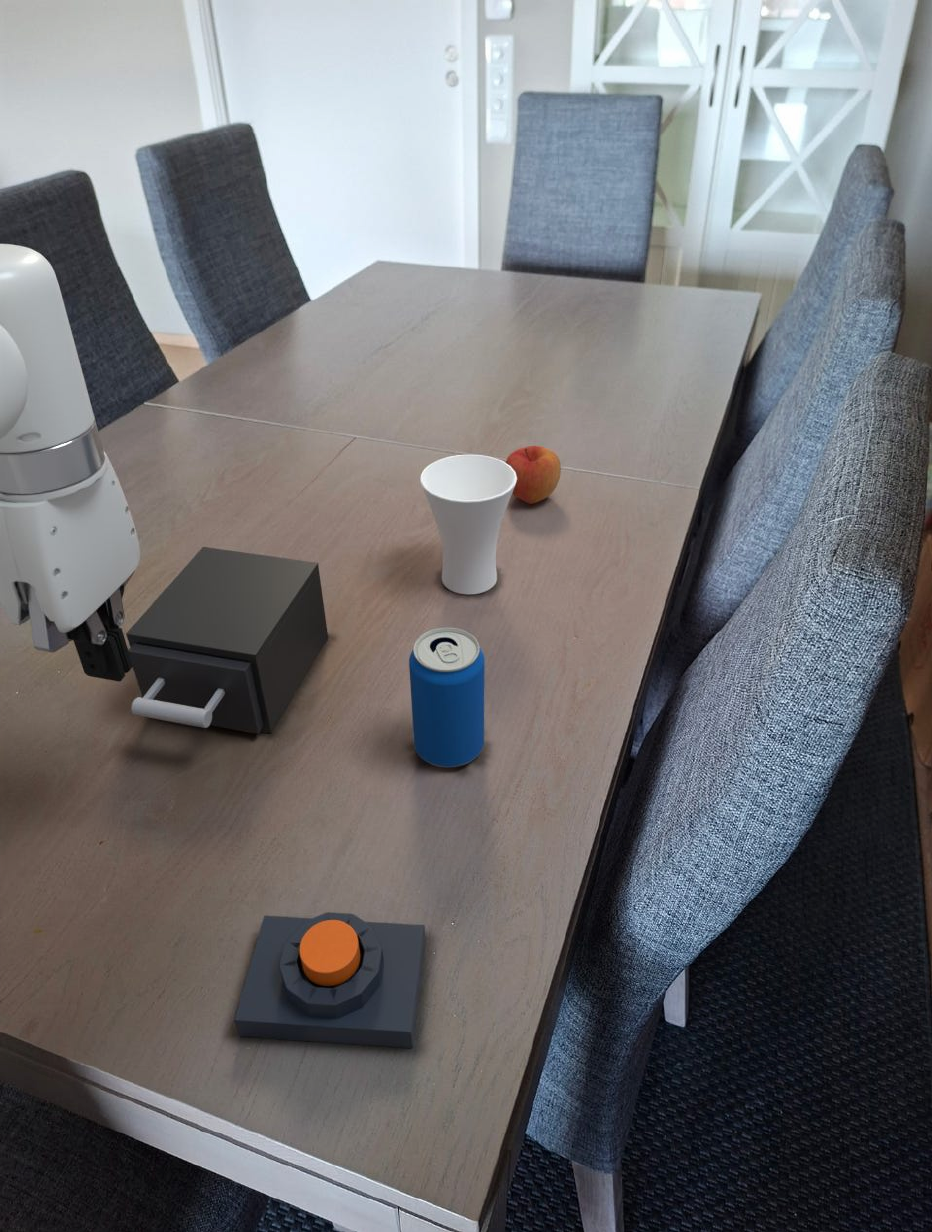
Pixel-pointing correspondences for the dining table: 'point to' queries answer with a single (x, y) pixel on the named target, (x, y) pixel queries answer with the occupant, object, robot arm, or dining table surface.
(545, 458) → the apple
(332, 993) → the control block
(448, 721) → the beverage can
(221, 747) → the dining table surface
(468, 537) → the cup
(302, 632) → the black cabinet
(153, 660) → the drawer
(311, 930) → the button
